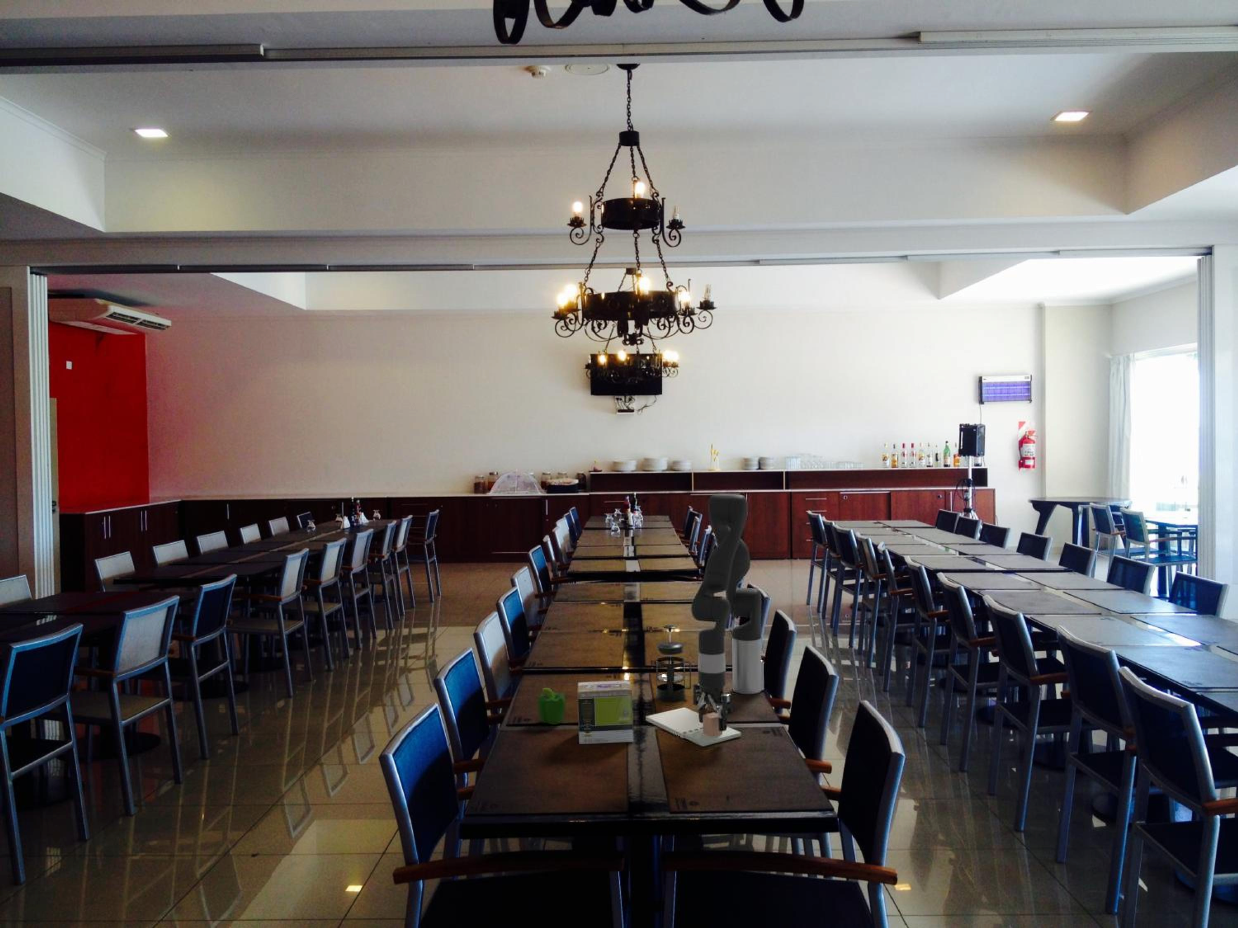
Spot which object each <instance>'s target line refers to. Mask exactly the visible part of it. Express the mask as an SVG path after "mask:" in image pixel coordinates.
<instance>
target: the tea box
mask: <svg viewBox="0 0 1238 928" xmlns="http://www.w3.org/2000/svg"><path fill="white" fill-rule="evenodd" d="M632 693H633V692H632V686H631V680H630V679H623V680H602V681H601V680H600V681H582V682H581V681H580V682H578V683H577V719H578V723H577V724H578V725H577V726H578V743H579V744H580V745H585V744H586V745H589V744H591V745H592V744H610V743H611V744H612V743H615V744H616V743H634V720H633V719H634V718H633V717H634V715H633V694H632Z"/></svg>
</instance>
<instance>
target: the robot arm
mask: <svg viewBox="0 0 1238 928" xmlns="http://www.w3.org/2000/svg"><path fill="white" fill-rule="evenodd" d="M707 504H708V505H707V512H708V517H709V522H710V525H711V528H712V529H711V530H712V531H713V535H714V539H715V542H716V548H714V550H713V551H712V552H711V553H710V555H709V556H708V559H707V562H706V567H705V569H704V570H705V572H704V576H703V580H702V583H701V584H700V586H699V588H698V591H697V592H696V594H695V596H694V597H693V599H692V602H691V608H690V609H691V614H692V617H693V619H695V620H696V621H698V622H711V623H715V626H714V627H712V628H707V629H702V630H701V631H699V633H698V657H697V678H698V679H697V680H698V682H697V683H695V684H693V689H692V690H693V691H692V693H693V694H692V703H693V705H694V706H696V708H697V709H698V714H699V722H700V723H703V715H705V714H708V709H707V707H708V706H711V707H712V708H713V710H714V711H715V712H716V713H717V714H718V716H719V718H718V726H719V731H721V732H722V731H726V729H727V727H728V718H729V717H732V716H733V701H732V699H733V698H732V694H731V693H728V694H727V693H726V694H725V693H724V687H726V683H727V681H726V679H727V674H726V673H727V671H726V654H725V637H726V636H725V634H726V630H727V624H728V621H729V617H730V615H731V616H732V617H742V618H749V619H750V620H749V621H747V622H746V623H744V624H741V625H738V626H735V627H733V628H732V632H731V639H732V640H731V642H732V643H731V645H732V646H731V647H732V651H731V652H732V653H731V654H732V655H731V656H732V657H731V658H732V660H731V661H732V691H733V692H734V693H737V694H741V695H743V694H744V695H752V694H753V695H754V694H759V693H760V692H762V691H763V690H764V689H765V686H764V685H765V677H764V676H765V675H764V672H765V671H764V665H765V664H764V663H765V662H764V660H762V635H761V634H762V629H761V628H762V622H761V621H762V593H761V591H760V590H759V589H758V588H750V587H738V585H739V584H740V582H741V581H743V579H744V578H745V577H746V576H747V574H748V573H749V571H750V567H751V558H750V552H749V548H748V546H747V544H746V543H745V542H744V540H743V539H742V535H743V531H744V528H745V525H746V522H747V518H748V512H749V503H748V499H747V497H745V495H742V494H734V493H733V494H732V493H731V494H730V493H713V494H712V495H711V496H710V497H709V499H708V503H707ZM723 592H725V596H720V595H719V596H717V595H714V594H718V593H723Z"/></svg>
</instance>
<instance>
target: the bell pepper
mask: <svg viewBox="0 0 1238 928" xmlns="http://www.w3.org/2000/svg"><path fill="white" fill-rule="evenodd" d="M542 691H543V692H544V693H543V694H540V695H539V697H538V699H537V702H536V703H537V704H536V705H537V706H536V707H537V711H538V715H539V717H540V721H541V722H542V723H543V724H544V723H545V724H550V725H557V724H560V723H561V722H563V720H564V717H565V713H566V708H567V707H566V706H567V705H566V703H567V701H566V696H565V694H564V693H562V692H561V693H557V692H555V691H553V690H552V689H550V688H549V687H544V688H542ZM545 692H548V694H547V693H545Z"/></svg>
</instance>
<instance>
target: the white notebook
mask: <svg viewBox="0 0 1238 928" xmlns="http://www.w3.org/2000/svg"><path fill="white" fill-rule="evenodd" d="M645 720H646V722H648V723H651V724H652V725H655V726H657V727H659V728H661V729H662V730H665V731H667V732H670V733H671V734H673V735H675V736H677V735H678V736H677V737H679V736H680V737H679V738H681V739H686V738H685V737H684V734H687V733H691V732H695V731H699V730H703V723H700V722H699V712H697V711H694V710H692V709H689V708H686V707H681V708H677V709H672V710H668V711H667V710H666V711H663V712H659V713H654V714H650V715H647V716H645Z"/></svg>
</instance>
